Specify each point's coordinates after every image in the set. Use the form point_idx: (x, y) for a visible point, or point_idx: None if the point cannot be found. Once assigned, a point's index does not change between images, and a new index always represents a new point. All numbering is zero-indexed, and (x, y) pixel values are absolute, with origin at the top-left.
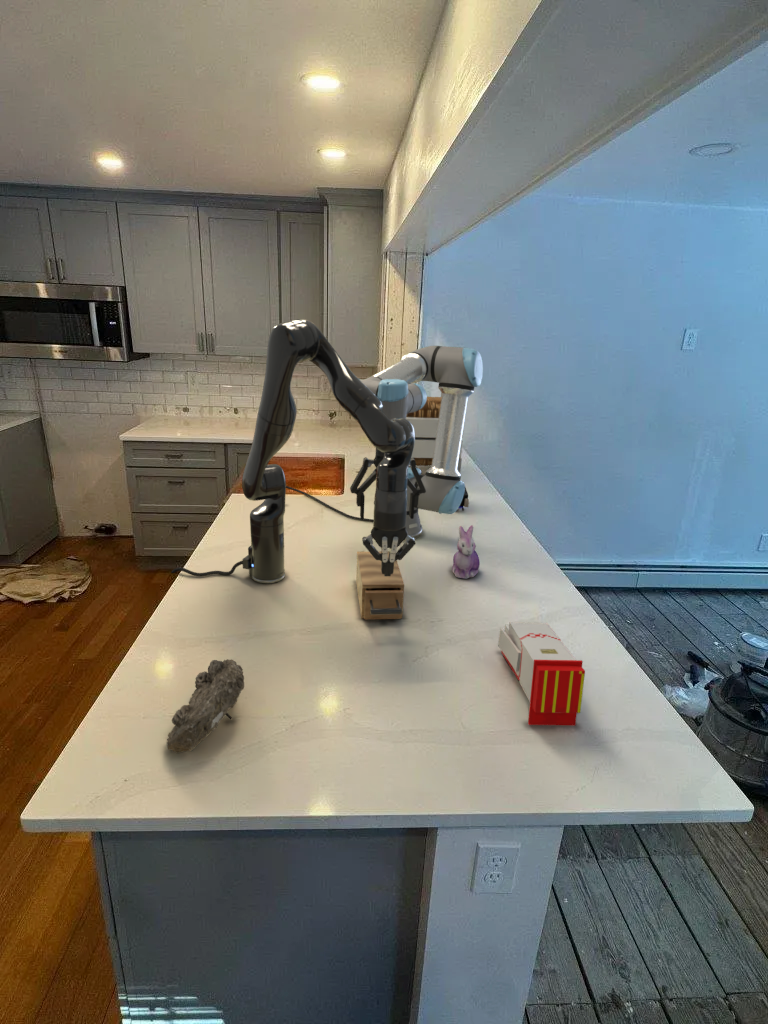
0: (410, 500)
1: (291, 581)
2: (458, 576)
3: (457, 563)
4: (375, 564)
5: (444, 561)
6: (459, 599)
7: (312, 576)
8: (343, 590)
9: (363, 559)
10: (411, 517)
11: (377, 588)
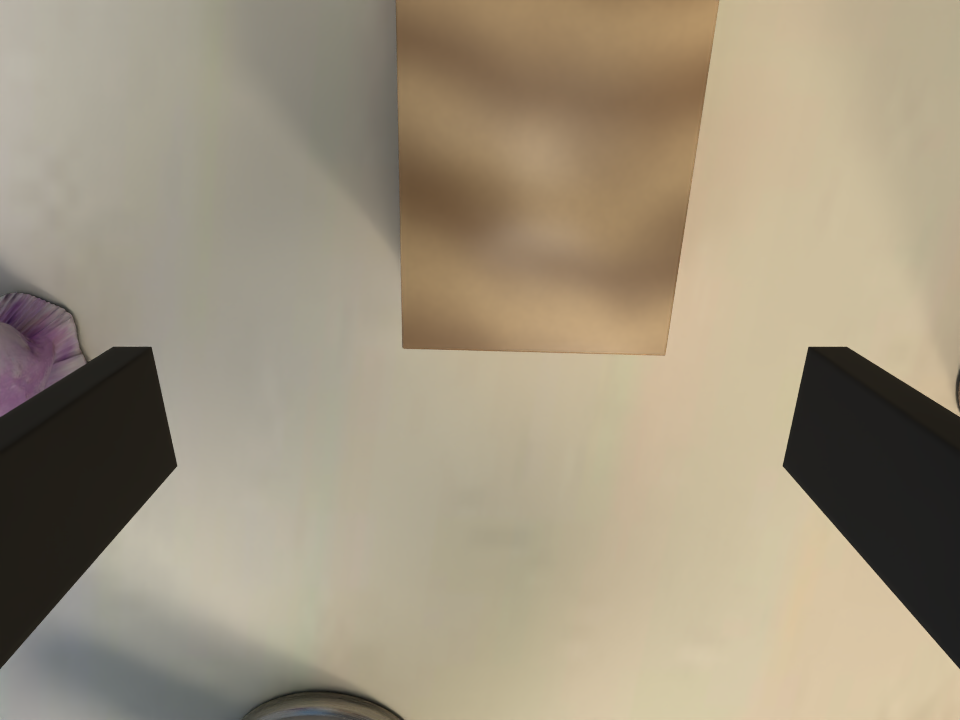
0: (10, 596)
1: (941, 317)
2: (55, 309)
3: (14, 342)
4: (574, 120)
5: None
6: (59, 48)
7: None
8: (699, 201)
9: (648, 218)
10: (132, 351)
11: None
